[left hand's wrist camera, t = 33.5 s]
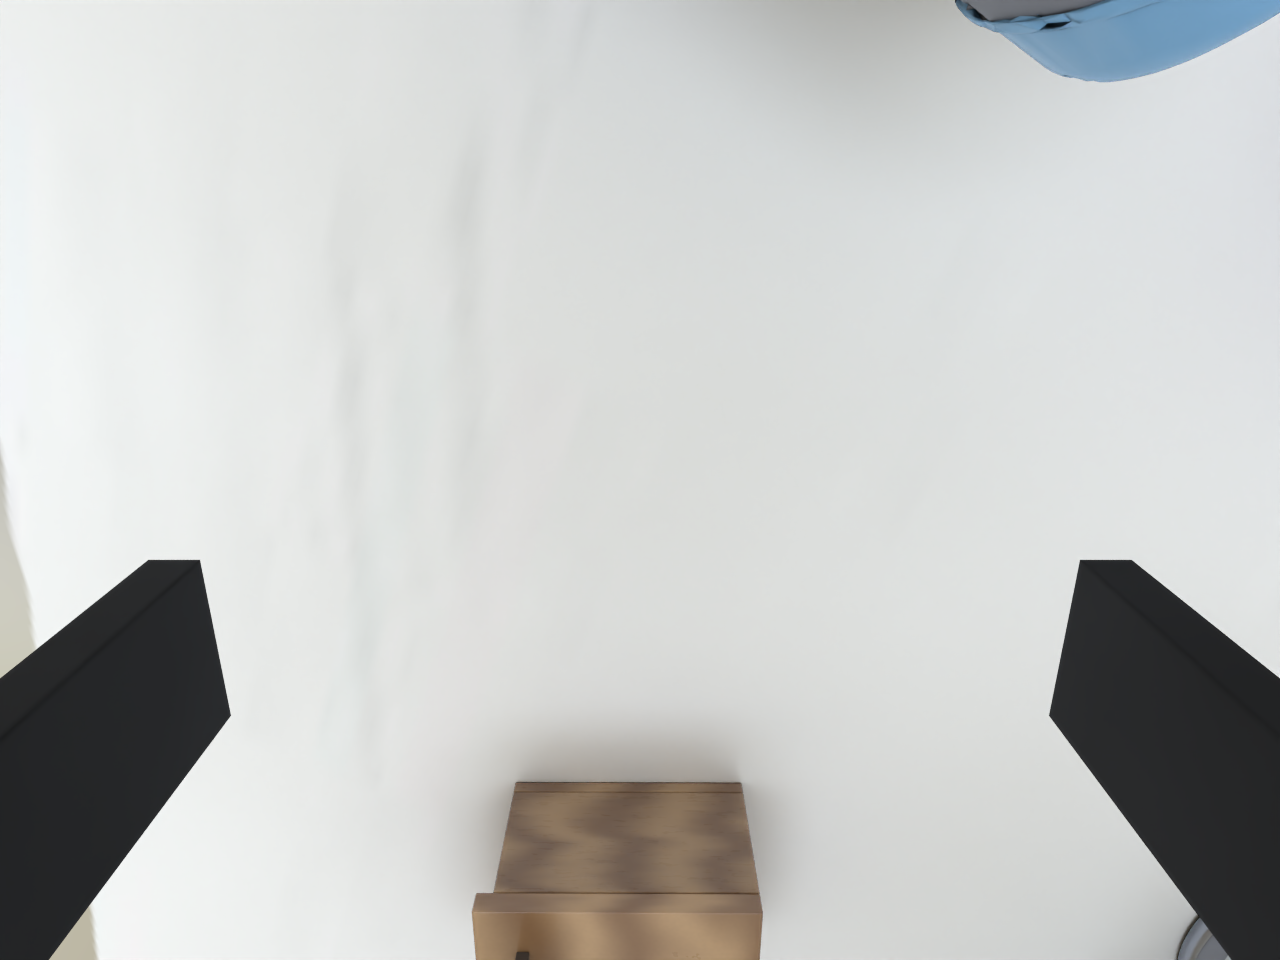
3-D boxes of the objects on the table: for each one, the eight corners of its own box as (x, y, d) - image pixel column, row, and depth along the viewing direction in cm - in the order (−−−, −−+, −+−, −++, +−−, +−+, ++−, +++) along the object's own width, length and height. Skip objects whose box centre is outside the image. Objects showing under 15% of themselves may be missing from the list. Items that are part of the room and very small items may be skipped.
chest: (524, 925, 58) (504, 1050, 49) (515, 782, 53) (493, 892, 45) (733, 926, 58) (749, 1050, 49) (741, 782, 53) (759, 893, 45)
